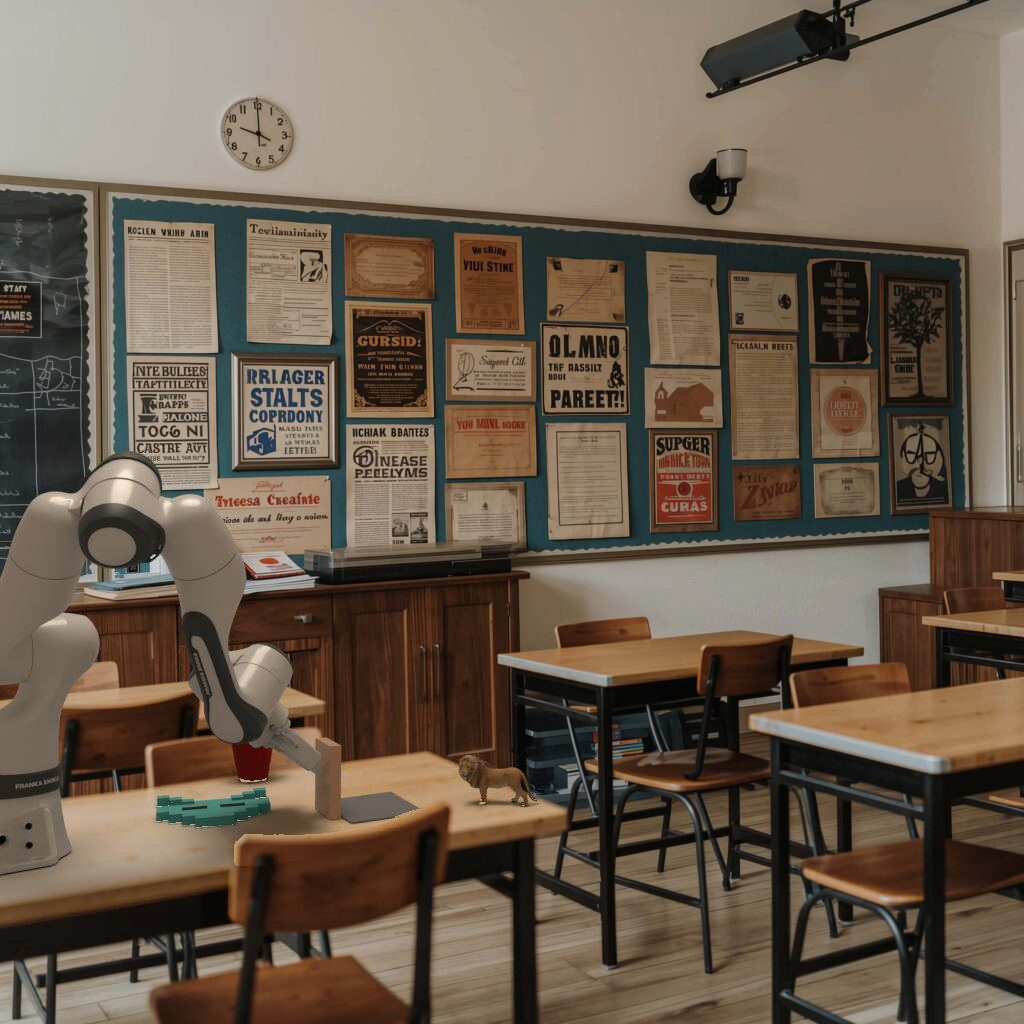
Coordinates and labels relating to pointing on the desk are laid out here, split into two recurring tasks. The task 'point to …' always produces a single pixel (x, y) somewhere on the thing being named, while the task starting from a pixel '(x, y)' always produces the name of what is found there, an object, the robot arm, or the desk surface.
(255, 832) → the desk surface
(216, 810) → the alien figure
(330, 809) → the tile
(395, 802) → the mat
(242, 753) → the plastic cup
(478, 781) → the lion figurine
